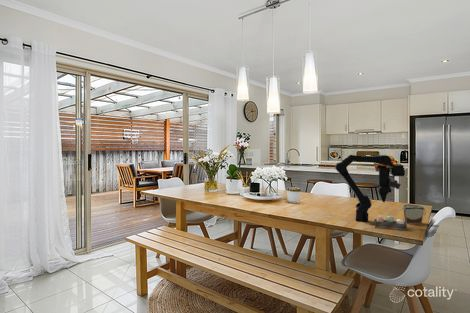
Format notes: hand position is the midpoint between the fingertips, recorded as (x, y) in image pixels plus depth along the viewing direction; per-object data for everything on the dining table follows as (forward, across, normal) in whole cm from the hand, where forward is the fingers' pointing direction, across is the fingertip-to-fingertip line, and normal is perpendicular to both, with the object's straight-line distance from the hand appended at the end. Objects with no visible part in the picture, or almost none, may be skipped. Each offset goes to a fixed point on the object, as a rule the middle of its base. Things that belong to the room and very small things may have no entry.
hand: (383, 201), depth 167 cm
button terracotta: (+11, -11, +2) cm, 16 cm away
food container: (+12, +6, -15) cm, 20 cm away
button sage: (+9, -11, -3) cm, 15 cm away
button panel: (+12, -11, -2) cm, 16 cm away
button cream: (+11, -11, -7) cm, 17 cm away
